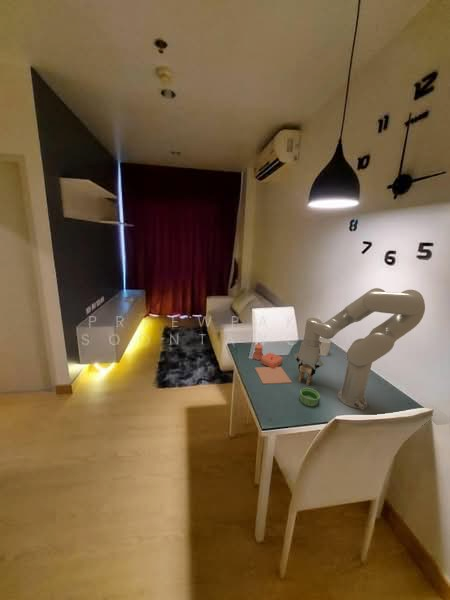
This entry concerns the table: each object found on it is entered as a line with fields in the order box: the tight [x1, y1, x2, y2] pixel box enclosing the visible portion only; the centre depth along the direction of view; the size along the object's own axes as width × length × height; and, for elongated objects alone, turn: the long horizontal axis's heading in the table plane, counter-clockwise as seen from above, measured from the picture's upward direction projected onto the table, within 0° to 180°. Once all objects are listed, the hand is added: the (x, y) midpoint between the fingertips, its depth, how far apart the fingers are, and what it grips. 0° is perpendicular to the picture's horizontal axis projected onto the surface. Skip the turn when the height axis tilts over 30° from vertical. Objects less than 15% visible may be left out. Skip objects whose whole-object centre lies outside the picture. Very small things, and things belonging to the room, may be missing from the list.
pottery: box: [252, 342, 284, 369], centre depth 153 cm, size 18×10×10 cm, turn 46°
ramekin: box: [299, 387, 321, 407], centre depth 118 cm, size 9×9×4 cm
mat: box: [254, 366, 293, 385], centre depth 138 cm, size 16×16×1 cm
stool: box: [297, 362, 313, 387], centre depth 133 cm, size 6×6×9 cm
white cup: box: [319, 337, 332, 357], centre depth 167 cm, size 8×8×10 cm
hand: (306, 372), depth 133 cm, fingers closed on stool, 6 cm apart
